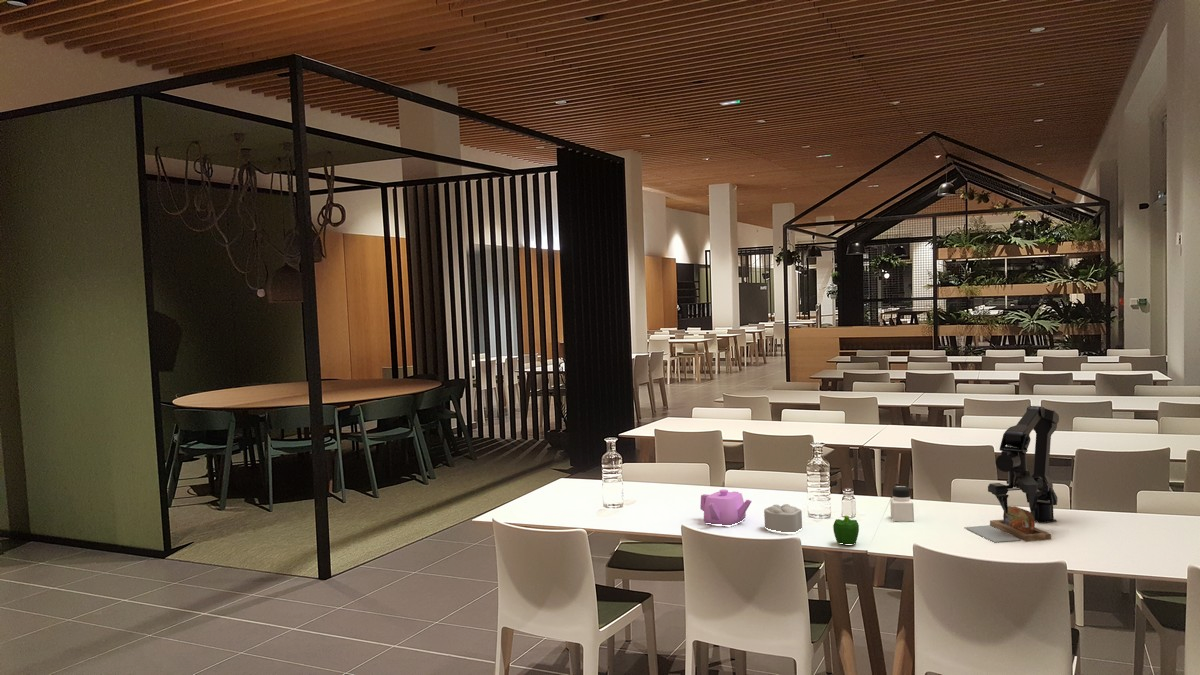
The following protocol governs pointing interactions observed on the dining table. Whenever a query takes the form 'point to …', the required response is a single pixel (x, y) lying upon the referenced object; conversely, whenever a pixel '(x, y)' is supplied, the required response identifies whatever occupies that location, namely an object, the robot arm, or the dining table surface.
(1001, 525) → the frame
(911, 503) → the medicine bottle
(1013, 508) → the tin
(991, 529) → the grey mat
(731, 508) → the teakettle
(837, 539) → the bell pepper
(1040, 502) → the robot arm
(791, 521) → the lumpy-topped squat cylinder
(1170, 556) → the dining table surface
